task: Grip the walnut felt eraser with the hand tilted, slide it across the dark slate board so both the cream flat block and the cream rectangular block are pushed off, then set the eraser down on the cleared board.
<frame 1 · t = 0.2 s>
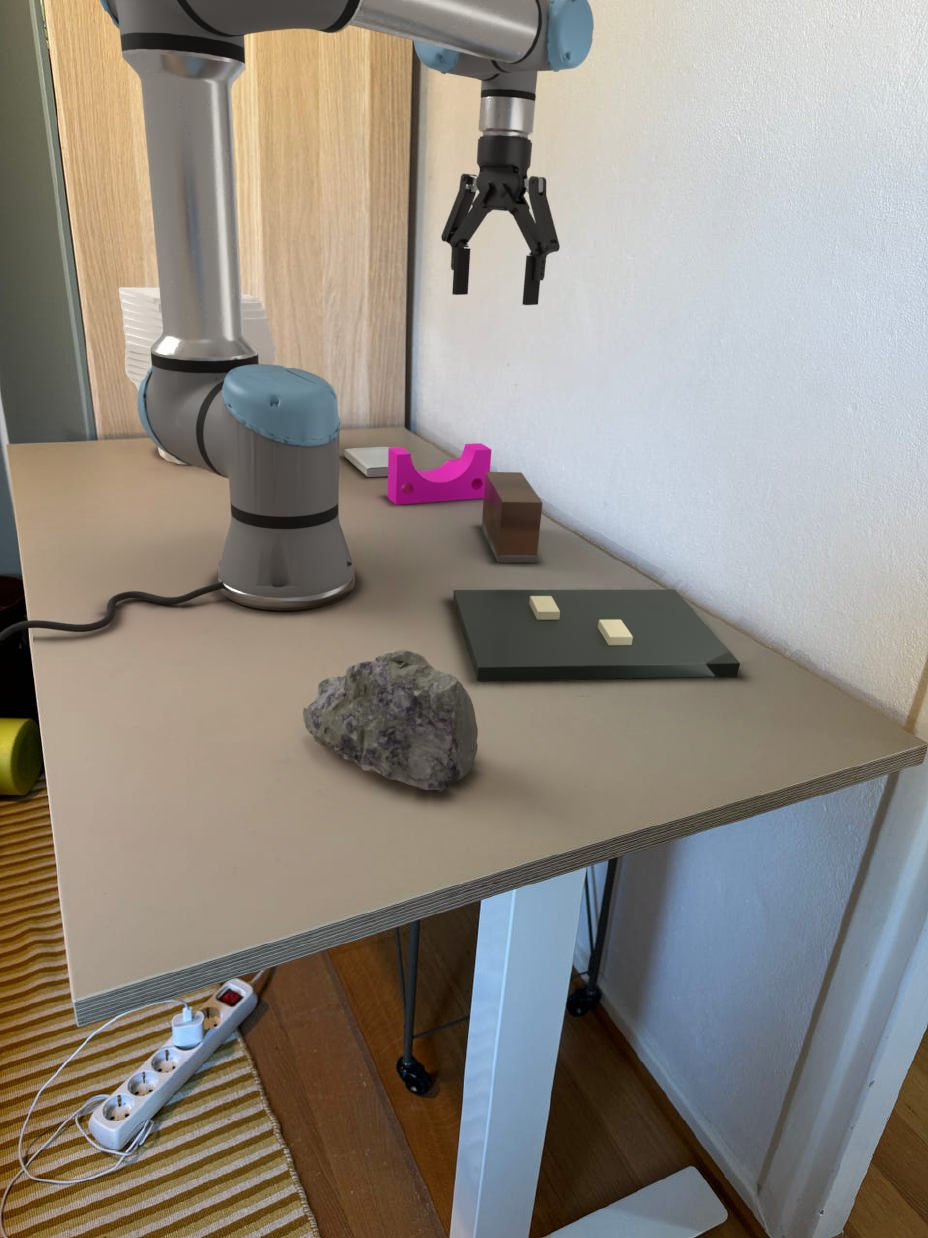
hand: (494, 299, 129), 28 cm above the table, tool pointing down, fingers open, 13 cm apart
mineral rock: (392, 758, 70), on the table
toy block: (435, 496, 134), on the table
felt eraser: (507, 544, 116), on the table
slate board: (585, 636, 92), on the table
cream flat block: (614, 636, 89), point 1 cm above the table, touching slate board
hard drive: (378, 466, 146), on the table
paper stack: (222, 456, 146), on the table
cream rectangular block: (543, 611, 93), point 1 cm above the table, touching slate board
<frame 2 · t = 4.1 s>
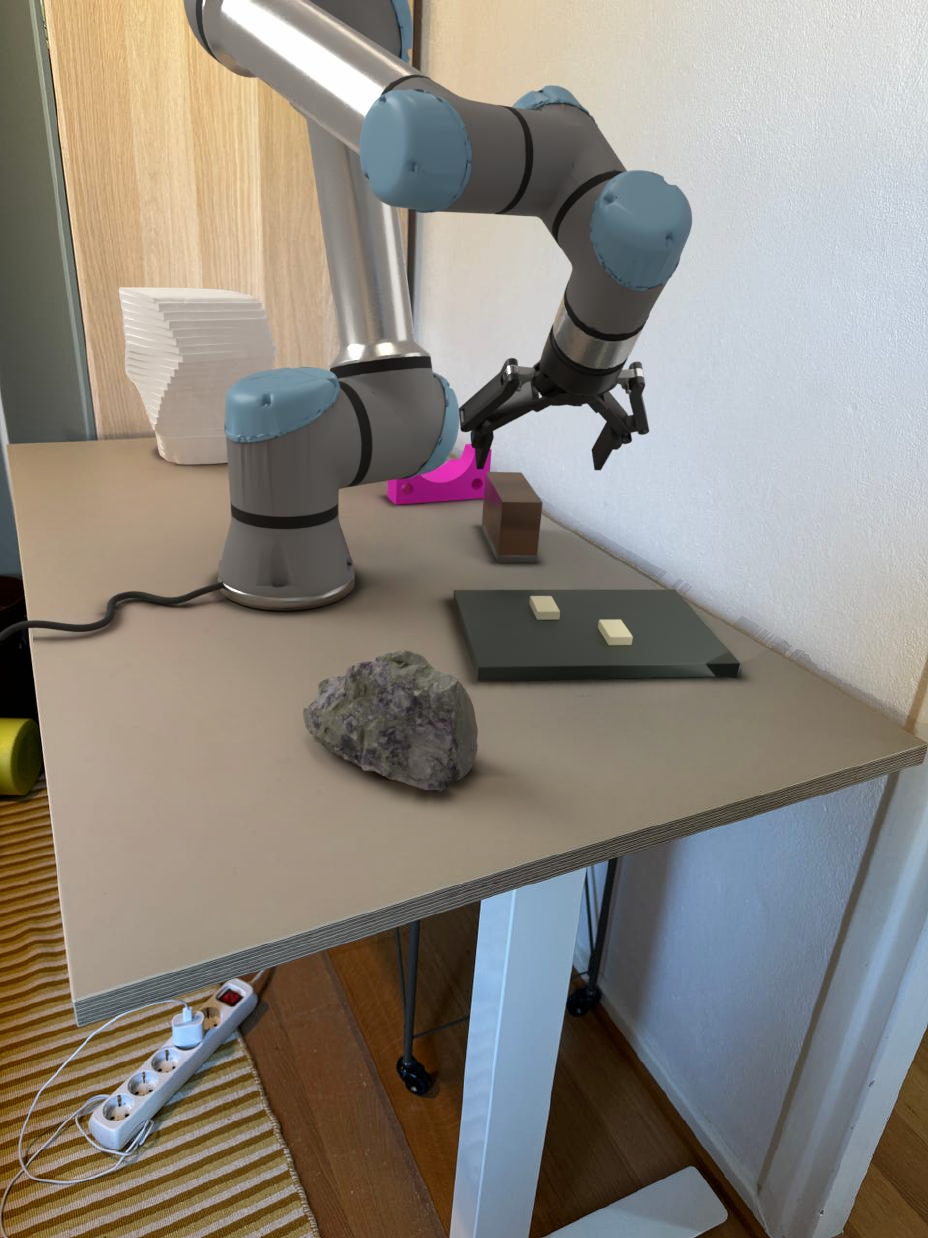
hand: (538, 459, 98), 15 cm above the table, tool tilted 45°, fingers open, 13 cm apart
nothing on the table moved.
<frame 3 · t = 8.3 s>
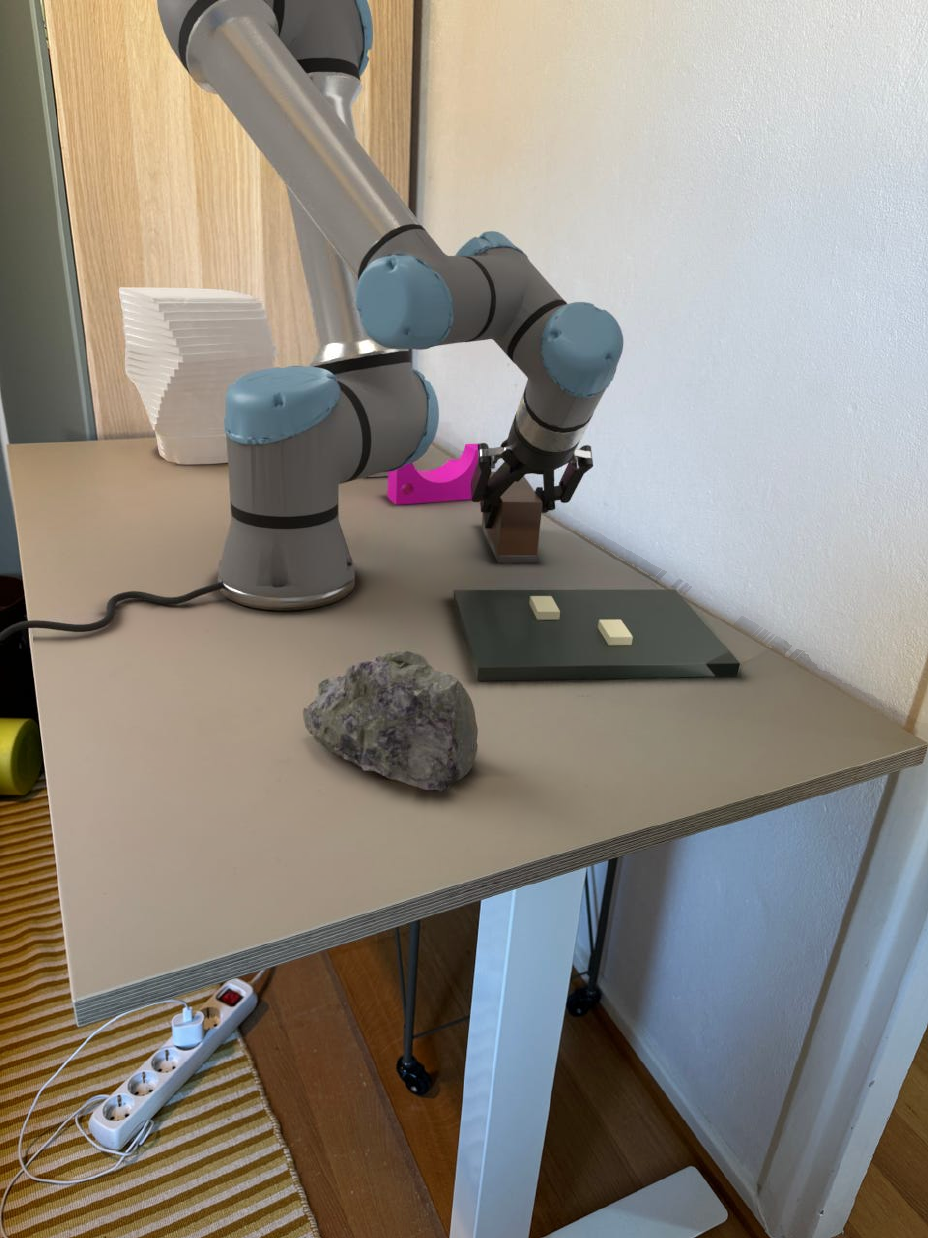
hand: (508, 519, 115), 3 cm above the table, tool tilted 45°, fingers closed on felt eraser, 5 cm apart
felt eraser: (507, 544, 116), on the table, touching gripper
everything else where it was.
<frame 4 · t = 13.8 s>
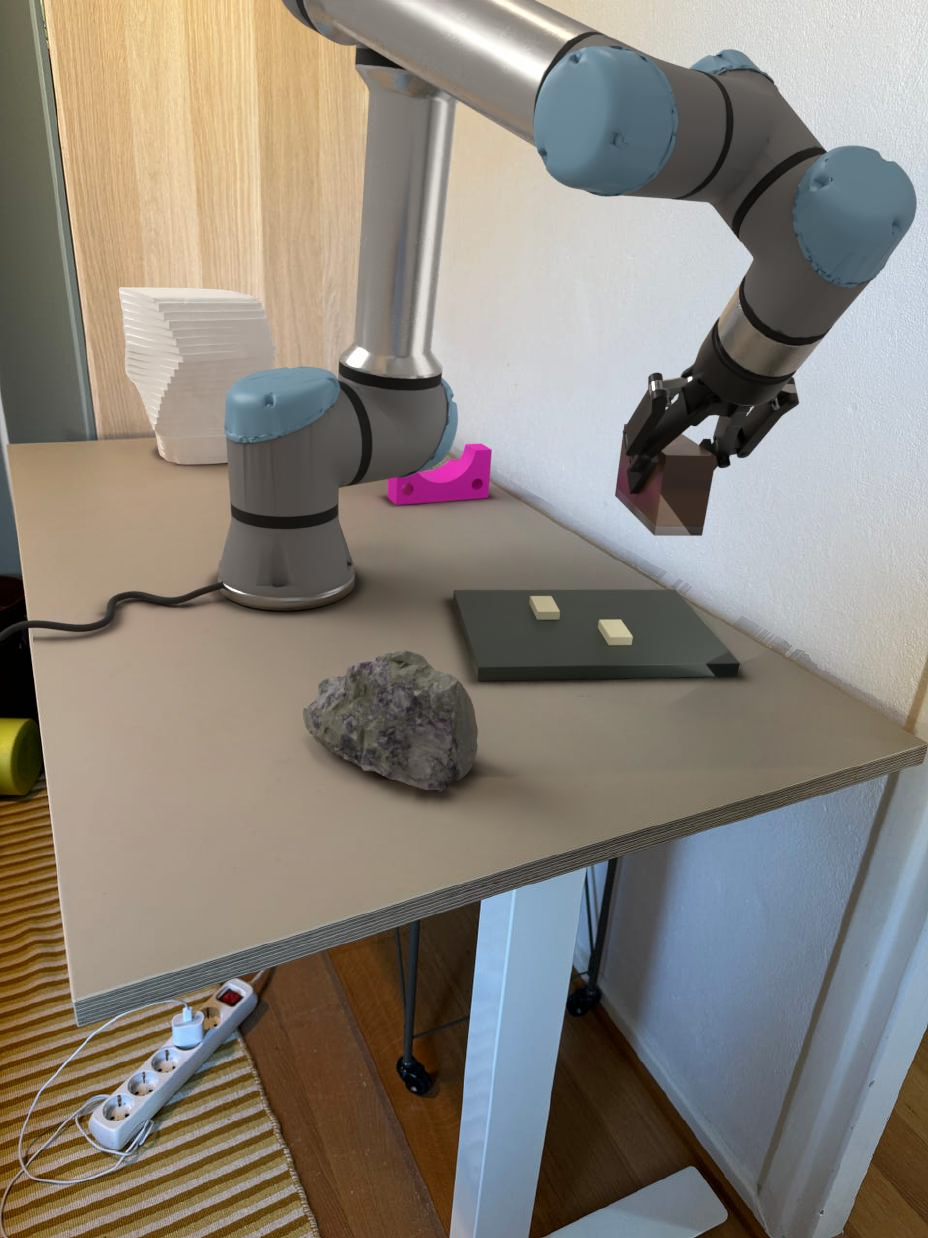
hand: (658, 482, 91), 15 cm above the table, tool tilted 45°, fingers closed on felt eraser, 5 cm apart
felt eraser: (655, 514, 91), point 12 cm above the table, touching gripper
everything else where it was.
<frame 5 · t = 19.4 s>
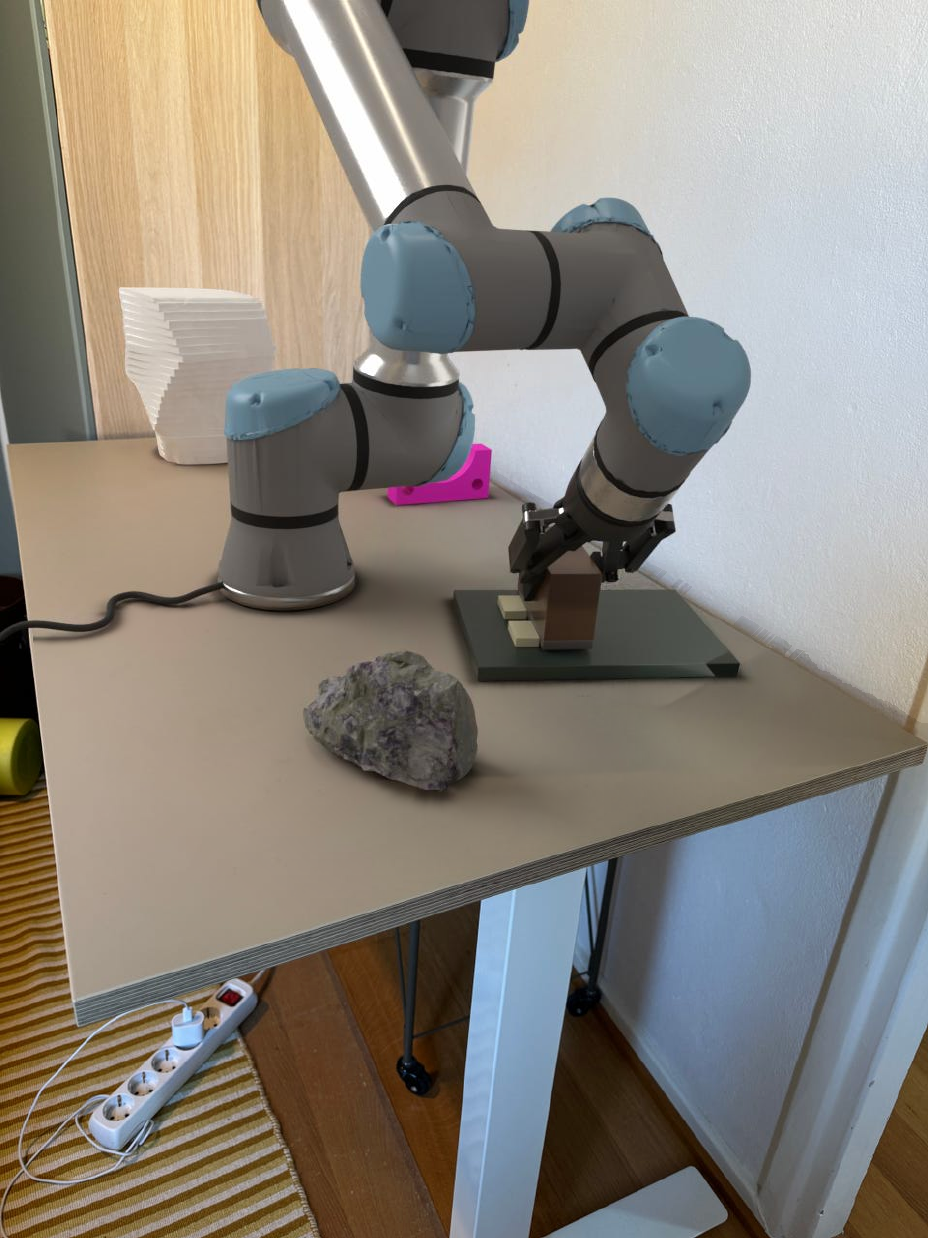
hand: (553, 588, 90), 5 cm above the table, tool tilted 45°, fingers closed on felt eraser, 5 cm apart
felt eraser: (552, 620, 91), point 2 cm above the table, touching cream rectangular block, gripper
cream flat block: (523, 638, 87), point 1 cm above the table, touching slate board
cream rectangular block: (511, 611, 93), point 2 cm above the table, touching felt eraser
everything else where it was.
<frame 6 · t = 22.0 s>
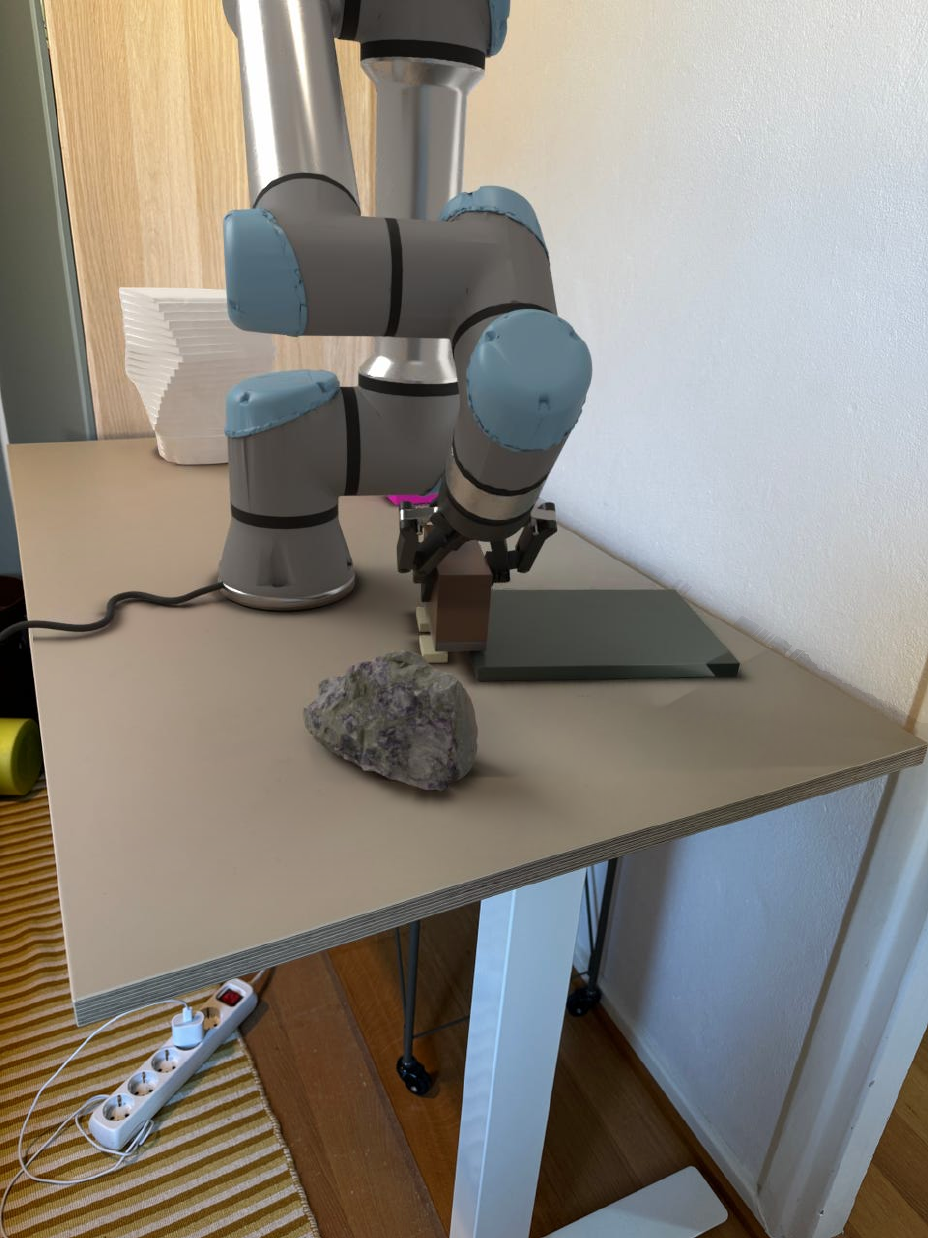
hand: (452, 589, 88), 5 cm above the table, tool tilted 45°, fingers closed on felt eraser, 5 cm apart
felt eraser: (451, 620, 89), point 2 cm above the table, touching gripper
cream flat block: (433, 644, 86), point 1 cm above the table, tilted 180°
cream rectangular block: (429, 615, 92), point 1 cm above the table, tilted 180°
everything else where it was.
when the fingers open (5 cm above the table, at t = 30.9 s): felt eraser stays where it is, resting on slate board.
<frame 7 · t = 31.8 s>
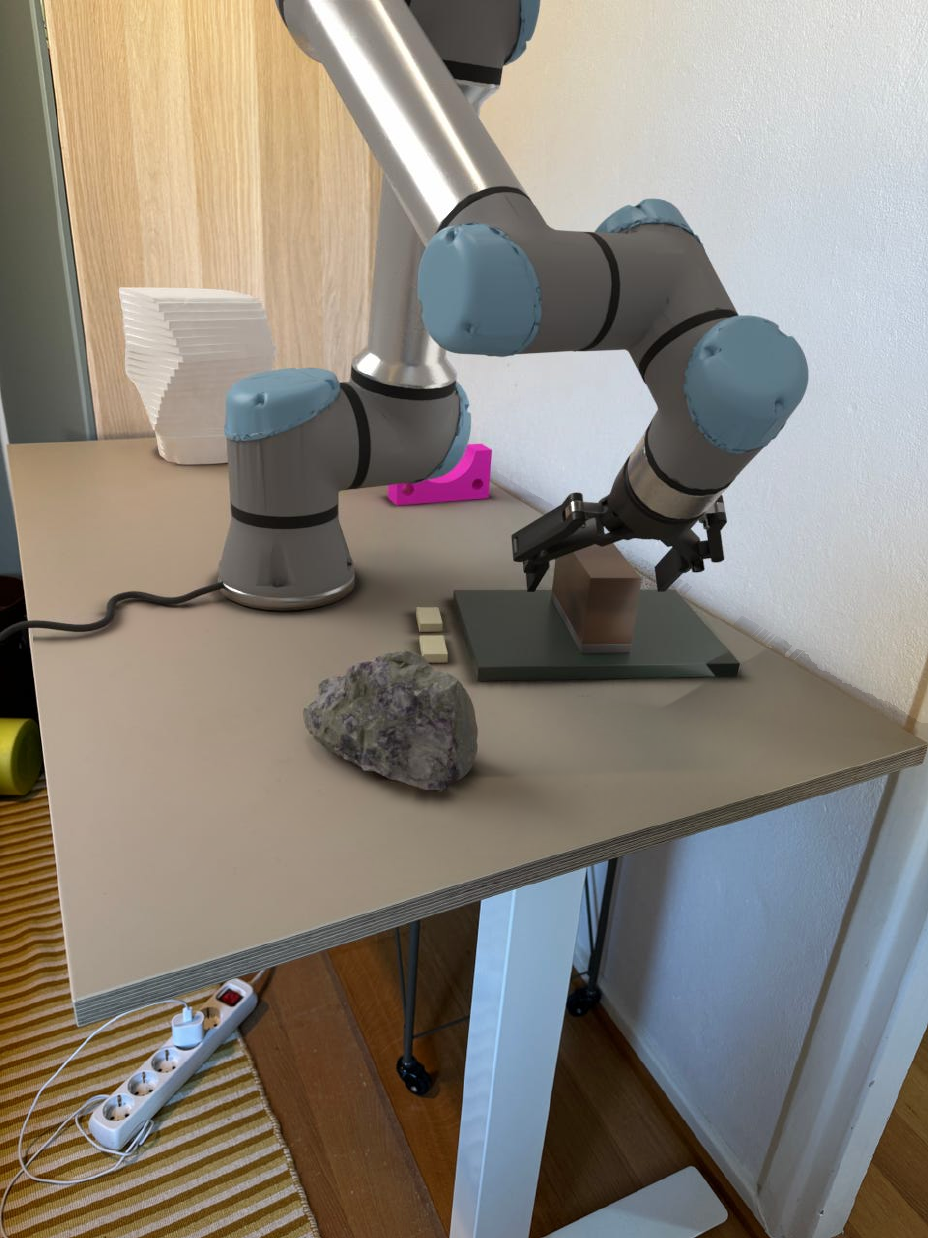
hand: (595, 579, 88), 7 cm above the table, tool tilted 45°, fingers open, 13 cm apart
felt eraser: (588, 624, 91), point 1 cm above the table, touching slate board
everything else where it was.
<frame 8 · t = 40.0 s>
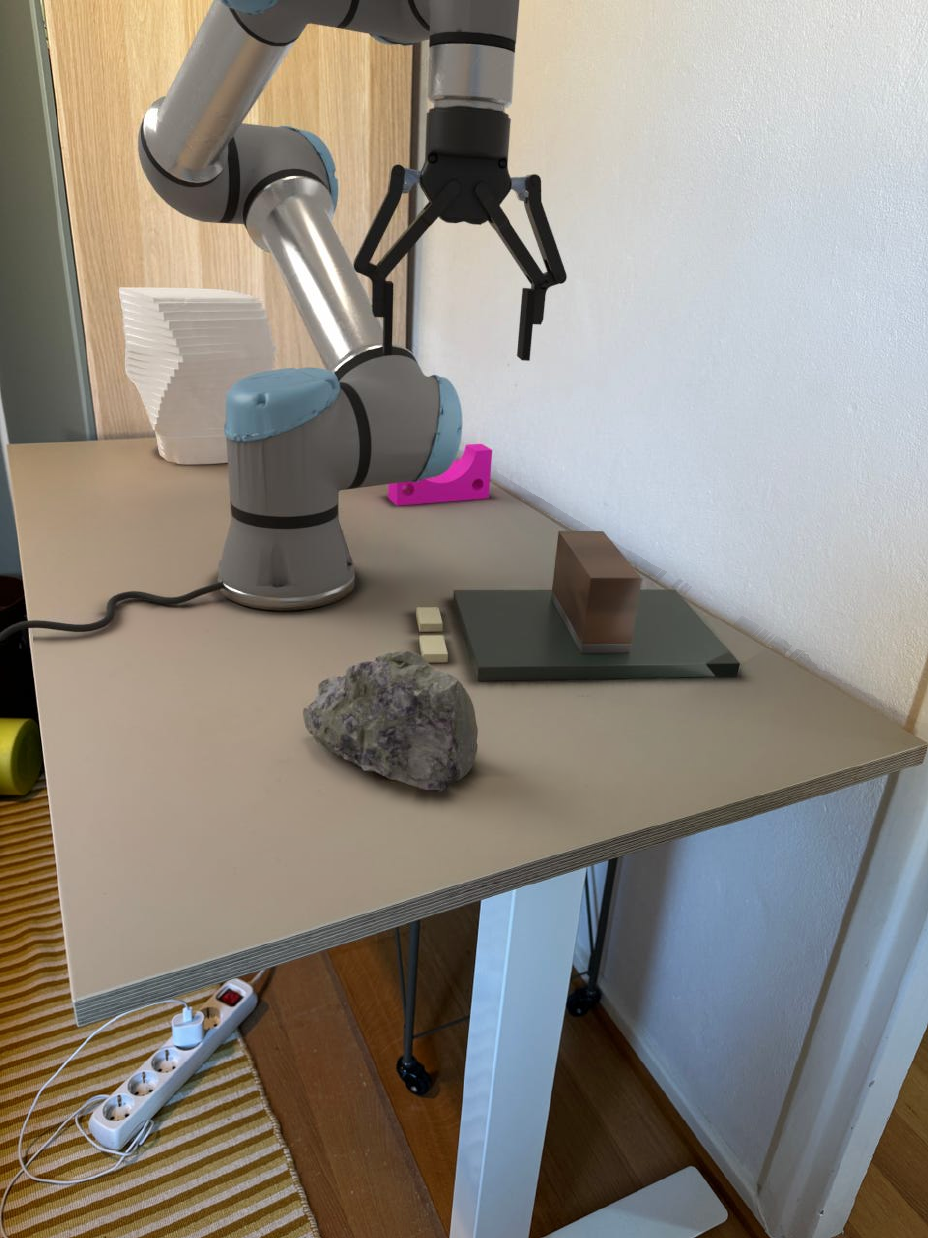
hand: (455, 356, 86), 27 cm above the table, tool pointing down, fingers open, 13 cm apart
nothing on the table moved.
at the end: cream flat block point 1.0 cm above the table; cream rectangular block point 1.0 cm above the table; felt eraser inside the target area on the slate board (0.1 cm from its centre), point 1.5 cm above the slate board's base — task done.
